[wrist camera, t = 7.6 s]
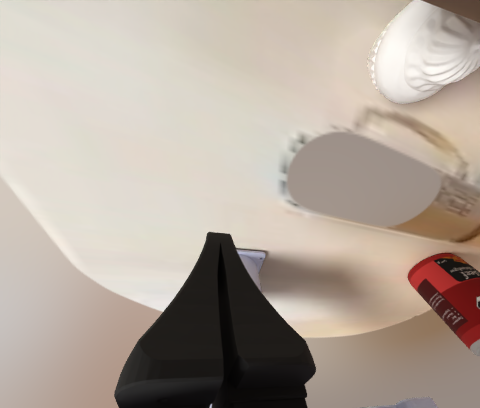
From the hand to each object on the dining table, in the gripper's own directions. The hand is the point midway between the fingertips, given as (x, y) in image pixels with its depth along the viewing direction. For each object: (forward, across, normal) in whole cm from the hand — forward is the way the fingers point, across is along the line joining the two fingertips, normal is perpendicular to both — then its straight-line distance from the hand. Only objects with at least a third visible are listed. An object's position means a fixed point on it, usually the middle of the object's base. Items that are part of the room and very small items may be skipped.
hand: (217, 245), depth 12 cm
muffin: (+10, -12, -13) cm, 20 cm away
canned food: (+10, -37, +11) cm, 40 cm away
